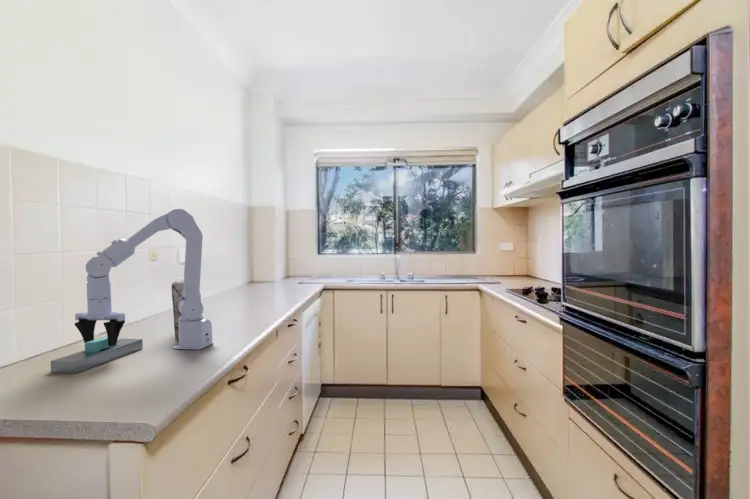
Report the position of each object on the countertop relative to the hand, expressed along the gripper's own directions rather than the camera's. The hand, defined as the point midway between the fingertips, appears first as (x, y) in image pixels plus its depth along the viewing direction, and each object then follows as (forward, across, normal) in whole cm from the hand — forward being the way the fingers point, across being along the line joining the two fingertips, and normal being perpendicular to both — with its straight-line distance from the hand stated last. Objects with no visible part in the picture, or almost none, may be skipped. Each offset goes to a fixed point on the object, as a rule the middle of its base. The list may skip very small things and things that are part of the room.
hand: (100, 345), depth 116 cm
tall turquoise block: (+3, 0, 0) cm, 3 cm away
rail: (+4, 0, 0) cm, 4 cm away
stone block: (+4, +6, +30) cm, 31 cm away
